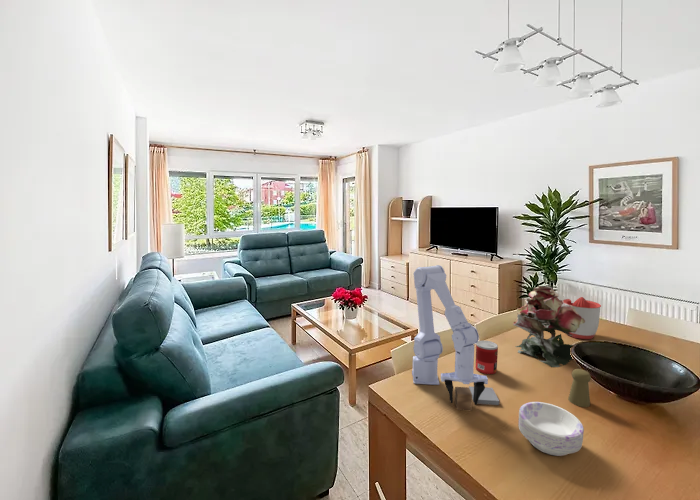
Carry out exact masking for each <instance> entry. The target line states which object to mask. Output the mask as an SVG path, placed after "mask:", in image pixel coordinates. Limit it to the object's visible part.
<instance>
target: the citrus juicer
mask: <svg viewBox="0 0 700 500" xmlns="http://www.w3.org/2000/svg"><path fill="white" fill-rule="evenodd" d="M562 302H564V303H565V304H568V305H570V306H573V307H574V308H575V310H576V312H578V314H579V315H580V316H581V317H582V318H584V320H585V323H583V324H580V325H579V328H577V330H576V332H575V333H574V332H571V333H570V334H571V336H570V335H568V336H570V337H572V338H574V339H582V340H592V339H593V338H594V337H595V335H596V334H597V331H598V328H599V323H600V315H601V307H602V305H601V303H599V302H595V301H592V300H586V299H585V298H584V297H583V296H580V297H579V298H577V299H576V300H575V301H574V302H572V300H571V299H570V298H567V299H563V300H562ZM572 335H574V336H572ZM575 336H576V337H575Z"/></svg>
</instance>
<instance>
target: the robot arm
mask: <svg viewBox="0 0 700 500" xmlns="http://www.w3.org/2000/svg"><path fill="white" fill-rule="evenodd" d="M413 280H414V289H415V291H416V292H415V293H416V303H417V305H416V306H417V313H418V314H417V315H418V316H417V317H418V324H419V332H418V333H417V334H416V336H415V337H414V338H413V339H414V340H413V341H414V344H413V349H412V350H413V353H414V355H413V356H412V370H411V376H412V381H413V384H415V385H432V386H433V385H434V386H439V385H440V381H441V382H442V383H444V385H445V387H446V390H447V393H448V397H449V399H448V400H449V403H450V404H453V403H454V399H453V397H454V396H453V395H454V394H453V393H454V384H453V382H459V383H462V384H463V385H470V383H473V387H474V395H473V399H472V402H473V401H474V402H473V405H476V406H477V405H478V404H477V402H478V399H479V397H480V395H481V393H482V392H483V391H484V389H485V387H486V385H488V384H489V382H488V381H489V378H488V377H487V375H483V374H477V373H474V371H475V369H474V366H475V365H474V364H475V363H474V362H475V345H476V343H477V342H478V341H480V336H479V332H478V330H477V328H476V327H475V326H473V325H472V324H471V323H470V322H469V321H468V320H467V318H466V315H465V314H464V311H463V310H462V307H460V306H459V305H457V304H455V301H454V299H453V296H452V294H451V292H450V289H449V287H448V284H447V281H446V280H447V274H446V272H445V269H444V268H443V266H442V265H439V264H436V265H432V266H418V267H416V269H415V270H414V271H413ZM431 290H434V291H435V293H436V296H438V298H439V300H440V302H441V304H442V305H443V307H444V308H445V310H444V316H445V318H446V320H447V322H448V325H449V326H450V328H451V331H452V334H451V340H452V342H453V348H454V350H455V351H454V352H455V357H454V358H455V361H454V371H453V372H444V373H442V372H441V373H440V380H439V377H438V362H439V358H440V355H442V354H443V352H444V351H443V349H444V347H443V343H442V341H441V336H440V335H439V334H438V333H436V332H435V326H434V315H433V304H432V294H431Z"/></svg>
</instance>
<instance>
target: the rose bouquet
mask: <svg viewBox="0 0 700 500" xmlns="http://www.w3.org/2000/svg"><path fill="white" fill-rule="evenodd" d="M532 289H533V290H532V291H530V292H529V293H528V297H530V298H526V299H525V300H524V301H525V304H524V305H523V306H521V307H519V308H518V307H517V308H516V310H517V311H516V314H517V315H516V316H517V318H515V321H513V326H514V327H517V328H520V329H522V330H524V331H525V332H527V333H529V334H528V336H526V337H527V338H524V339H522V342H521V343H520V344H519V345H515V348H520V349H518V350H517V353H518V354H526V355H529V356H531V357H533V358H535V359H538V362H541V363H543V364H545V365H547V366H549V367H551V368H561V366H566V365H567V364H569V363H571V361H572V360H573V359H572V357H571V355H570V348H571V347H572V346H573V344H570V343H569V344H567V343H565V341H564V340H563V337H562V333H564V334H565V335H568V336H569V335H570V337H572V336H574V335H572V336H571V334H570V333H571V332H574V333H575V332H576V330H577V328H579V325H580V324H583V323H585V320H584V318H582V317H581V316H580V315H579V314H578V312H576V310H575V308H574V307H573V306H570V305H568V304H565V303H564V302H563V300H561V299H559V298H558V297H559V293H556V291H555V290H554V289H553V287H551V286H548V285H544V286H543V285H538V286H537V287H533V288H532ZM556 331H558V332H561V333H560V334H557V333H556ZM545 332H546V333H549V334H550V335H551V336H550V337H549V338H544V337H545V336H544V335H545V334H544V333H545ZM556 334H557V335H556ZM575 337H576V336H575ZM538 354H539V355H542V357H543V358H545V360H539V359H540V357H539V356H538Z"/></svg>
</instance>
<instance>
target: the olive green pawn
mask: <svg viewBox="0 0 700 500" xmlns="http://www.w3.org/2000/svg"><path fill="white" fill-rule="evenodd" d="M571 377H572V382H571V387H570V391H569V394H568V401H569V403H571V404H573V405H575V406H577V407H580V408H588V407H591V399H590V385H589V383H590V382H591V379H592V376H591V374H590V372H589V371H587V370H585V369H581V368H575V369H573V370H572V372H571Z"/></svg>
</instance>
